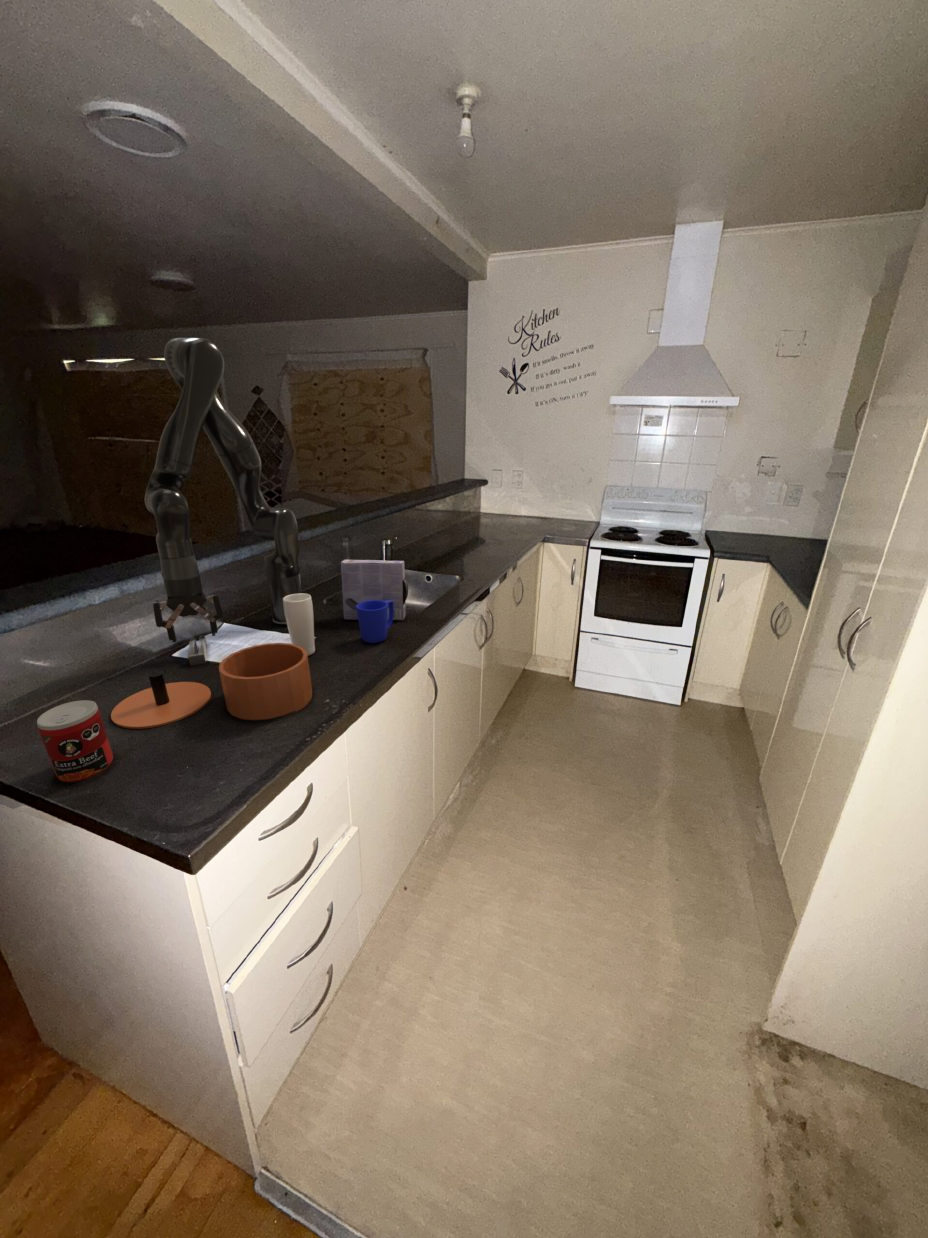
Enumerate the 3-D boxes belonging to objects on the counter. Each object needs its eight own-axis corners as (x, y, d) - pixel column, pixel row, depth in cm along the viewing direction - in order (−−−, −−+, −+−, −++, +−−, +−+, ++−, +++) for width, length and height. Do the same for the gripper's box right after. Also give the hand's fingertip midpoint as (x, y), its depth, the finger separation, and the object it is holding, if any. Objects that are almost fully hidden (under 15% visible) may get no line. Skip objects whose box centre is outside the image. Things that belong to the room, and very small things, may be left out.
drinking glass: (322, 648, 126) (315, 593, 121) (312, 659, 120) (304, 602, 114) (297, 647, 127) (289, 592, 121) (286, 658, 120) (277, 601, 115)
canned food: (52, 791, 76) (29, 731, 72) (63, 762, 82) (43, 706, 78) (111, 776, 79) (92, 718, 75) (117, 749, 86) (100, 695, 82)
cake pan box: (409, 615, 149) (407, 558, 142) (407, 621, 144) (404, 563, 138) (347, 614, 149) (342, 558, 143) (343, 620, 144) (337, 563, 138)
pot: (226, 691, 105) (218, 651, 102) (305, 675, 112) (300, 637, 108) (229, 730, 91) (219, 686, 88) (318, 709, 98) (313, 667, 94)
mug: (405, 633, 135) (403, 599, 132) (375, 648, 126) (372, 612, 122) (382, 627, 139) (380, 594, 136) (352, 641, 130) (349, 606, 126)
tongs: (191, 648, 126) (189, 637, 125) (206, 645, 128) (204, 635, 127) (190, 668, 116) (187, 656, 114) (206, 665, 117) (204, 654, 116)
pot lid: (119, 697, 103) (110, 665, 100) (211, 679, 110) (205, 649, 107) (104, 741, 88) (92, 705, 85) (211, 717, 95) (204, 683, 93)
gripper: (214, 567, 120) (225, 628, 126) (147, 574, 114) (162, 637, 120) (215, 574, 114) (226, 638, 119) (144, 582, 108) (160, 648, 113)
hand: (194, 638), depth 119 cm, fingers open, 8 cm apart
